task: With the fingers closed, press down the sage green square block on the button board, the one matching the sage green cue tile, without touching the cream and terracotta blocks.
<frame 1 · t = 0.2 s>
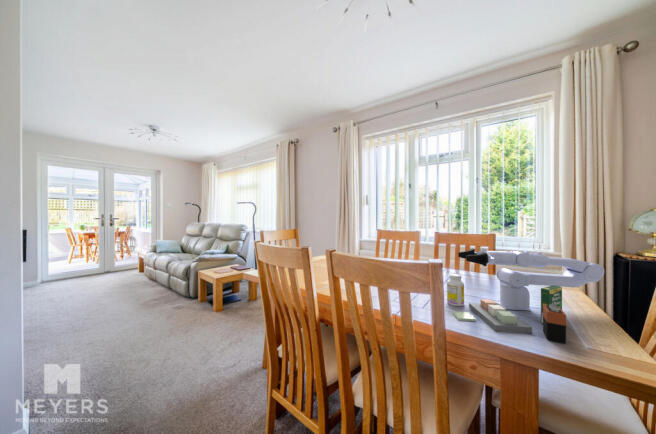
hand: (462, 256, 102), 21 cm above the table, tool horizontal, fingers open, 7 cm apart
terracotta button: (488, 304, 94), point 3 cm above the table, slide at 0.0 cm
coffee box: (551, 323, 85), on the table
supplement bottle: (455, 304, 103), on the table
sage button: (506, 317, 82), point 3 cm above the table, slide at 0.0 cm
cue tile: (463, 317, 90), on the table
button board: (496, 319, 88), on the table
battery: (553, 338, 75), on the table
cream button: (496, 310, 88), point 3 cm above the table, slide at 0.0 cm
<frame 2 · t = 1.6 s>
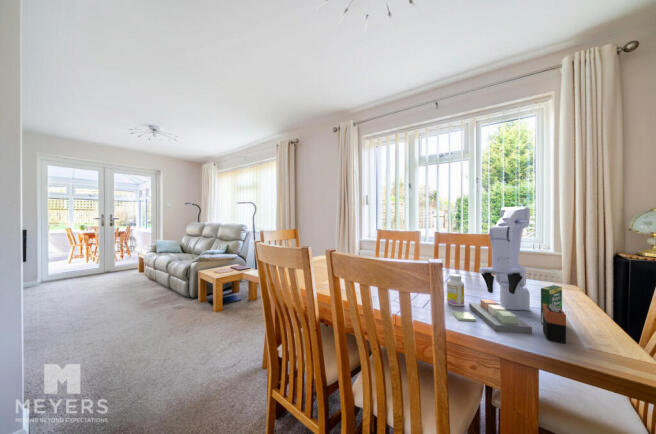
hand: (500, 292, 90), 9 cm above the table, tool pointing down, fingers open, 7 cm apart
nothing on the table moved.
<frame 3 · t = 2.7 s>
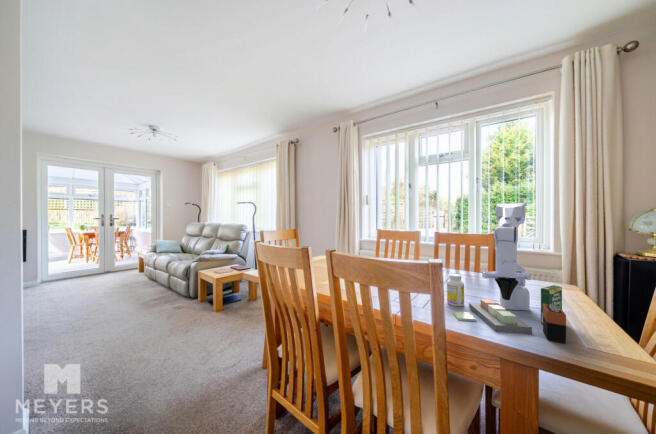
hand: (505, 299, 83), 10 cm above the table, tool pointing down, fingers closed
nothing on the table moved.
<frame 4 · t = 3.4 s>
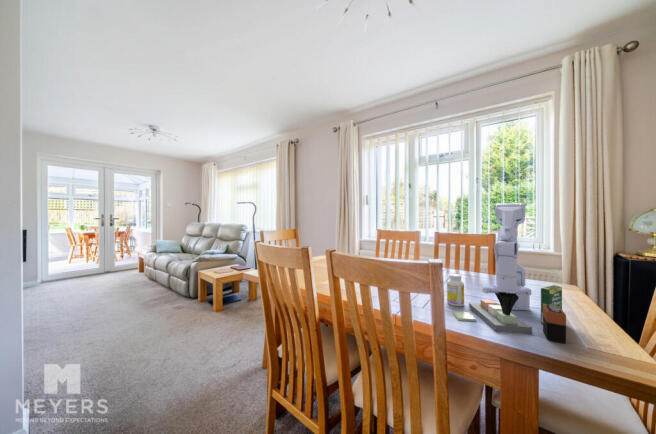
hand: (506, 314, 82), 4 cm above the table, tool pointing down, fingers closed, pressing on sage button
sage button: (506, 318, 82), point 3 cm above the table, slide at 0.1 cm, touching gripper
everything else where it was.
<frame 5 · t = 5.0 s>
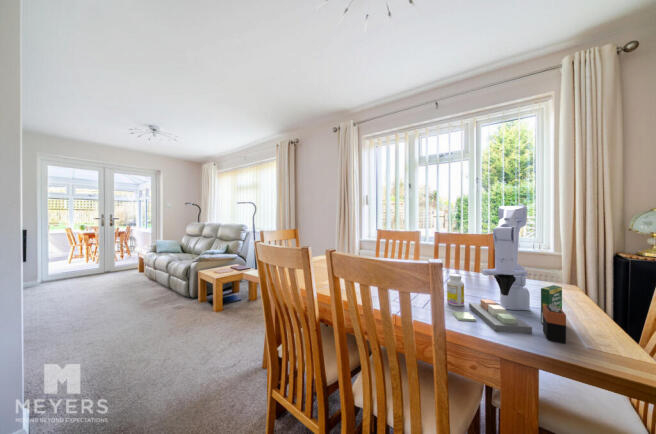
hand: (504, 294, 88), 9 cm above the table, tool pointing down, fingers closed
sage button: (506, 320, 82), point 2 cm above the table, slide at 0.9 cm
everything else where it was.
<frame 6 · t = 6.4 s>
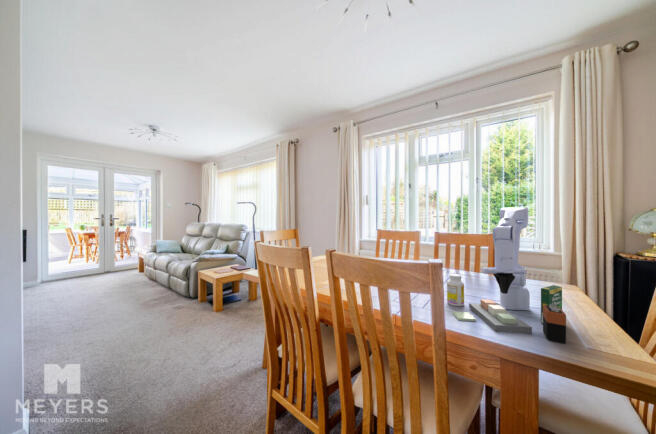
hand: (503, 292, 90), 9 cm above the table, tool pointing down, fingers closed
nothing on the table moved.
at the end: sage button slide at 0.9 cm; cream button slide at 0.0 cm; terracotta button slide at 0.0 cm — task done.
